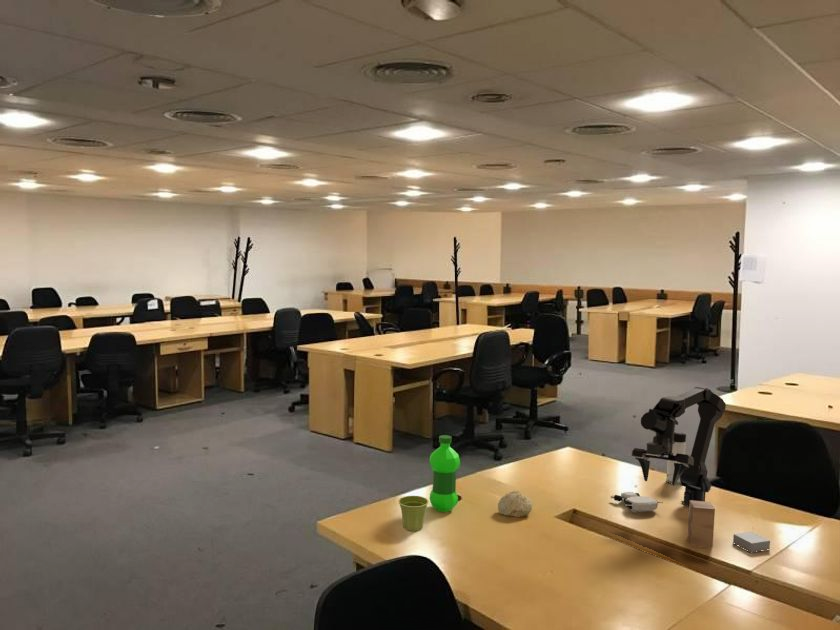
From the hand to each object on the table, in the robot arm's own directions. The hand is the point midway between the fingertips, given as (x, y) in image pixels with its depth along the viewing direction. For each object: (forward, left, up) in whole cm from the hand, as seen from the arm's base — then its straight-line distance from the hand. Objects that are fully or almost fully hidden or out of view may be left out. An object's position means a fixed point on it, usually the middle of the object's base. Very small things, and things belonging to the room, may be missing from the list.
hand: (659, 483), depth 217 cm
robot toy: (-2, -14, -14) cm, 20 cm away
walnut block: (-3, +16, -14) cm, 21 cm away
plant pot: (+78, -19, -14) cm, 81 cm away
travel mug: (-34, -32, -14) cm, 49 cm away
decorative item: (+41, -21, -14) cm, 48 cm away
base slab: (-16, +23, -14) cm, 31 cm away
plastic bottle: (+63, -31, -14) cm, 72 cm away
